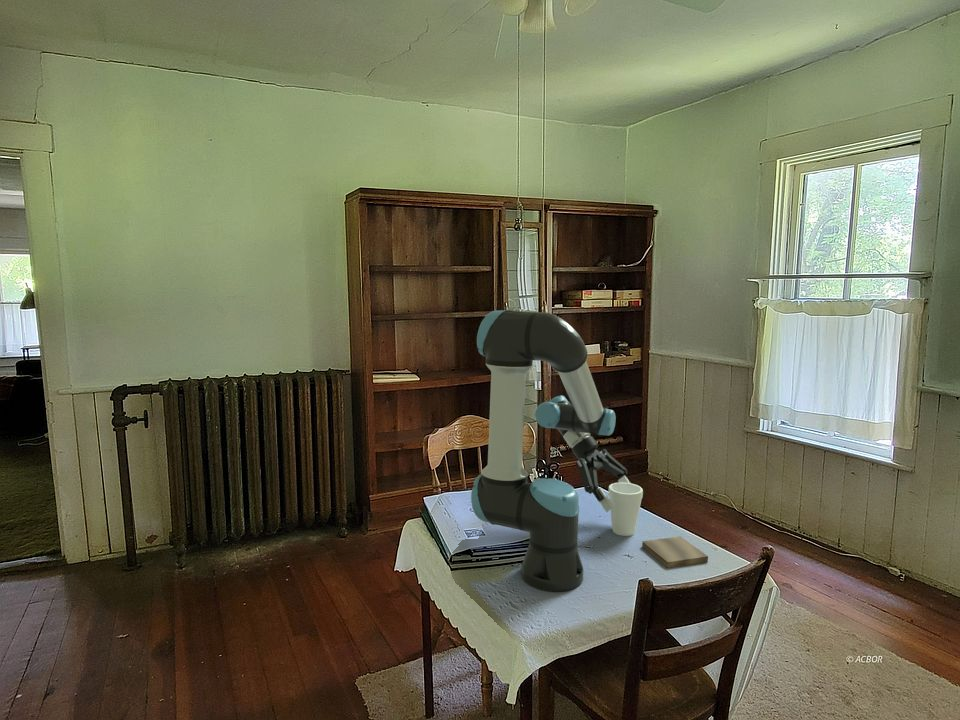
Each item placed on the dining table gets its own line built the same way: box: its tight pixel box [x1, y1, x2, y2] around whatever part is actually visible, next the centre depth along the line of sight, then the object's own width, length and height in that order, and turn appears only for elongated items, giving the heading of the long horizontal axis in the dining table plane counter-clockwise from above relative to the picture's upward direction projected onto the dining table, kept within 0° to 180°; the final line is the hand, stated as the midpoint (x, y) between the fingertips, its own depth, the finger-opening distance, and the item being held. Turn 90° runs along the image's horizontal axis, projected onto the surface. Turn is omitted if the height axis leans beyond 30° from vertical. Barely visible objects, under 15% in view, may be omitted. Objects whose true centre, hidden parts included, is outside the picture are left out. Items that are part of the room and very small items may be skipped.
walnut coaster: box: [641, 536, 709, 569], centre depth 160 cm, size 12×12×2 cm
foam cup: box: [607, 482, 644, 537], centre depth 173 cm, size 10×9×13 cm
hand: (622, 503), depth 174 cm, fingers open, 13 cm apart
